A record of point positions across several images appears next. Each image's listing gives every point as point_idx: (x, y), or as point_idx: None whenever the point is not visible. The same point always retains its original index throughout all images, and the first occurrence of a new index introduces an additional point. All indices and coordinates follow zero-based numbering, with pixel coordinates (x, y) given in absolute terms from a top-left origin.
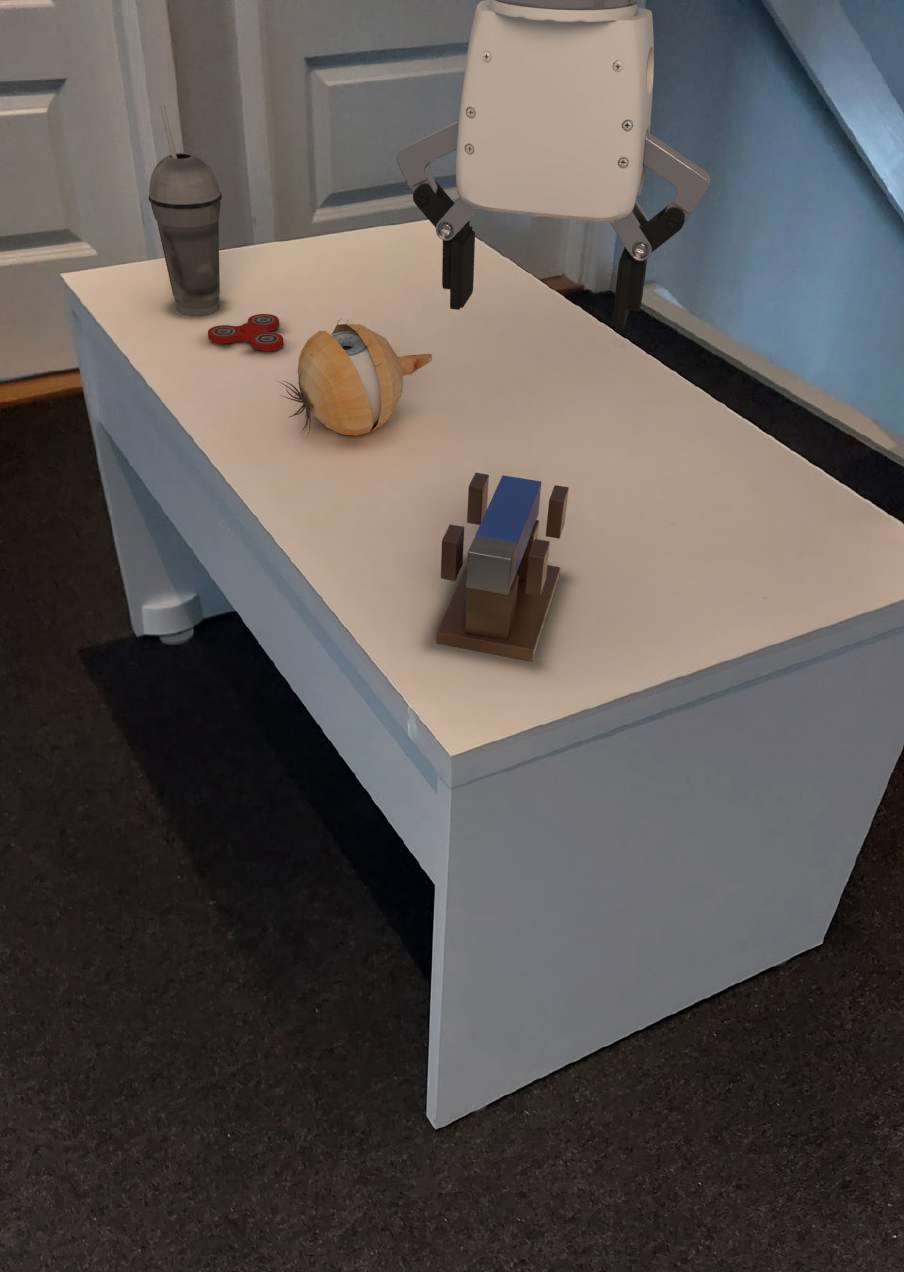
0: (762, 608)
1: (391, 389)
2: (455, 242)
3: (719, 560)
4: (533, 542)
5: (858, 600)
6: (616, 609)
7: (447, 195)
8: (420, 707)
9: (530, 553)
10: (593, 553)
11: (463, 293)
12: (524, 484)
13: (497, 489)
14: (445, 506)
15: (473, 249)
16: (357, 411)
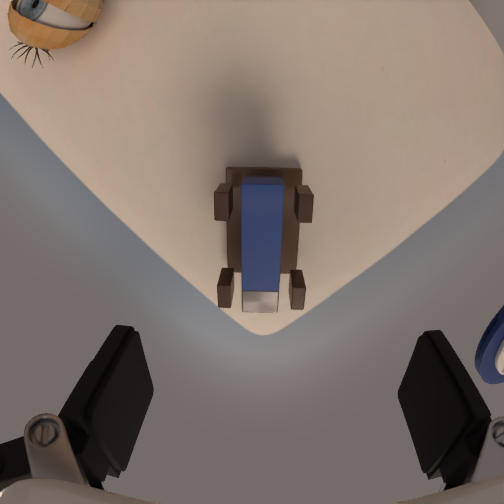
0: (442, 174)
1: (90, 6)
2: (108, 473)
3: (418, 117)
4: (292, 291)
5: (491, 154)
6: (348, 197)
7: (22, 476)
8: (236, 319)
9: (292, 307)
10: (324, 125)
11: (146, 402)
12: (267, 195)
13: (243, 213)
14: (183, 90)
15: (107, 394)
16: (73, 39)
